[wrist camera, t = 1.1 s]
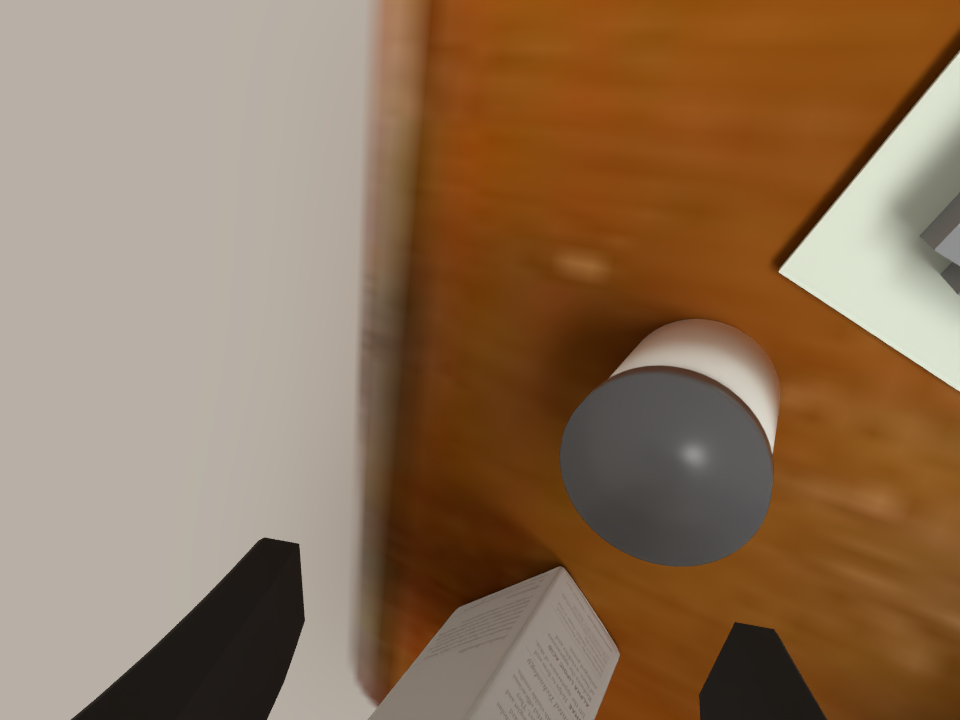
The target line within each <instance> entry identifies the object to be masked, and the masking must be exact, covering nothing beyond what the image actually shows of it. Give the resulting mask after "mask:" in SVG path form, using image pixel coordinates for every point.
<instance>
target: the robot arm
mask: <svg viewBox="0 0 960 720" xmlns="http://www.w3.org/2000/svg"><path fill="white" fill-rule="evenodd" d="M304 621H305V617H304V604H303V591H302V576H301V562H300V548H299V544H297V543H292V542H286V541H280V540H275V539H270V538H263V539H261V540H259V541H258V542H257V543H256V544H255V545H254V546H253V547H252V548H251V550H250V551H249V552H248V553H247V554H246V555H245V556H244V557H243V558H242V559H241V560H240V561H239V562H238V563H237V565H236V566H235V567H234V568H233V569H232V570H231V571H230V572H229V573H228V574H227V575H226V576H225V577H224V578H223V579H222V580H221V581H220V582H219V584H217V585H216V587H215V588H214V589H213V590H212V591H211V592H210V593H209V594H208V595H207V596H206V597H205V598H204V599H203V600H202V601H201V602H200V603H199V604H198V605H197V606H196V607H195V608H194V609H193V610H192V611H191V612H190V613H189V614H188V615H187V616H186V617H185V618H183V619H182V620H181V621H180V622H179V623H178V624H177V625H176V626H175V627H174V628H173V629H172V630H171V631H170V632H169V633H168V634H167V635H166V636H165V637H164V638H163V639H162V640H161V641H160V642H159V643H158V644H157V645H156V646H154V647H153V648H152V649H151V650H150V651H149V652H148V653H147V654H146V655H145V656H144V657H142V658H141V659H140V660H139V661H138V662H137V663H136V664H135V665H133V666H132V667H131V668H130V669H129V670H128V671H127V672H126V673H124V674H123V675H122V676H121V677H120V678H119V679H118V680H117V681H116V682H114V683H113V684H112V685H111V686H110V687H109V688H108V689H106V690H105V691H104V692H103V693H102V694H101V695H100V696H99V697H97V698H96V699H95V700H94V701H93V702H92V703H90V704H89V705H88V706H87V707H86V708H84V709H83V710H82V711H81V712H80V713H78V714H77V715H76V716H75V717H74V718H72V719H71V720H267V718H268V716H269V713H270V711H271V709H272V707H273V705H274V703H275V701H276V698H277V696H278V694H279V692H280V689H281V687H282V685H283V683H284V680H285V677H286V674H287V671H288V669H289V666H290V663H291V660H292V657H293V654H294V652H295V649H296V646H297V643H298V639H299V636H300V633H301V630H302V627H303V624H304ZM699 699H700V719H701V720H827V719H826V717H825V715H824V714H823V712H822V710H821V709H820V707H819V705H818V703H817V702H816V700H815V698H814V697H813V695H812V693H811V692H810V690H809V688H808V686H807V685H806V683H805V681H804V680H803V678H802V676H801V674H800V673H799V671H798V669H797V667H796V666H795V664H794V662H793V660H792V659H791V657H790V655H789V653H788V652H787V650H786V648H785V646H784V645H783V643H782V641H781V639H780V638H779V636H778V634H777V633H776V632H775V630H774V629H769V628H764V627H758V626H753V625H747V624H742V623H736V622H735V623H734V625H733V627H732V629H731V632H730V634H729V636H728V638H727V640H726V642H725V644H724V646H723V648H722V650H721V652H720V654H719V656H718V658H717V660H716V662H715V664H714V666H713V668H712V670H711V672H710V674H709V676H708V678H707V680H706V682H705V684H704V686H703V688H702V690H701V692H700V694H699Z"/></svg>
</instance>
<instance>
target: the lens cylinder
mask: <svg viewBox="0 0 960 720" xmlns="http://www.w3.org/2000/svg"><path fill="white" fill-rule="evenodd" d="M780 399H781V391H780V383H779V378H778V375H777V372H776V369H775V367H774V365H773V363H772V361H771V359H770V358H769V356H768V355H767V354H766V352H765V351H764V350H763V348H762V347H761V346H760V345H759V344H758V343H757V342H756V341H755V340H753V339H752V338H751V337H750V336H748V335H747V334H745V333H744V332H742V331H740V330H739V329H737V328H735V327H732V326H730V325H728V324H725V323H721V322H718V321H713V320H707V319H686V320H681V321H676V322H673V323H670V324H667V325H664V326H662V327H660V328H658V329H656V330H655V331H653V332H652V333H650V334H649V335H648V336H647V337H645V338H644V339H643V340H642V341H641V342H640V343H639V344H638V346H637V347H636V348H635V349H634V350H633V351H632V352H631V354H630V355H629V356H628V357H627V358H626V359H625V360H624V361H623V363H622V364H621V365H620V366H619V367H618V368H617V369H616V371H615V372H614V373H613V374H612V375H611V376H610V377H609V378H608V379H607V380H605V381H604V382H602V383H601V384H600V385H598V386H597V387H596V388H595V389H594V390H593V391H592V392H591V393H590V394H589V395H588V396H587V397H586V398H585V399H584V401H583V402H582V403H581V404H580V405H579V406H578V408H577V409H576V410H575V411H574V413H573V414H572V416H571V418H570V419H569V421H568V423H567V426H566V428H565V430H564V434H563V437H562V441H561V449H560V466H561V473H562V478H563V481H564V485H565V488H566V490H567V493H568V495H569V497H570V500H571V501H572V503H573V505H574V507H575V508H576V510H577V511H578V513H579V514H580V515H581V517H582V518H583V520H584V521H585V522H586V523H587V524H588V525H589V526H590V527H591V528H592V530H594V531H595V532H596V533H597V534H598V535H599V536H600V537H601V538H603V539H604V540H605V541H607V542H608V543H610V544H611V545H612V546H614V547H616V548H617V549H619V550H621V551H623V552H624V553H627V554H629V555H631V556H633V557H636V558H638V559H641V560H644V561H647V562H651V563H655V564H660V565H667V566H695V565H702V564H706V563H710V562H714V561H717V560H719V559H722V558H724V557H726V556H728V555H730V554H732V553H733V552H735V551H737V550H738V549H739V548H741V547H742V546H743V545H744V544H746V543H747V542H748V541H749V540H750V539H751V538H752V536H753V535H754V534H755V533H756V532H757V530H758V529H759V527H760V525H761V524H762V522H763V520H764V518H765V515H766V513H767V511H768V507H769V503H770V499H771V492H772V485H773V475H774V464H773V455H772V454H773V448H774V441H775V435H776V428H777V422H778V415H779V409H780Z"/></svg>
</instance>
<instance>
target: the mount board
mask: <svg viewBox="0 0 960 720" xmlns="http://www.w3.org/2000/svg"><path fill="white" fill-rule="evenodd" d="M778 272H779V273H781V274H782V275H784V276H785V277H787V278H788V279H790V280H791V281H793V282H794V283H796V284H797V285H799V286H800V287H802V288H803V289H805V290H806V291H808V292H809V293H811V294H813V295H814V296H816V297H817V298H819V299H820V300H822V301H823V302H825V303H826V304H828V305H829V306H831V307H832V308H834V309H835V310H837V311H838V312H840V313H841V314H843V315H844V316H846V317H847V318H849V319H850V320H852V321H853V322H855V323H856V324H858V325H859V326H861V327H863V328H864V329H866V330H867V331H869V332H870V333H872V334H873V335H875V336H876V337H878V338H879V339H881V340H882V341H884V342H885V343H887V344H888V345H890V346H891V347H893V348H894V349H896V350H897V351H899V352H900V353H902V354H903V355H905V356H906V357H908V358H910V359H911V360H913V361H914V362H916V363H917V364H919V365H920V366H922V367H923V368H925V369H926V370H928V371H929V372H931V373H932V374H934V375H935V376H937V377H938V378H940V379H941V380H943V381H944V382H946V383H947V384H949V385H950V386H952V387H953V388H955V389H956V390H958V391H960V50H959V51H958V53H957V54H956V55H955V56H954V57H953V59H952V60H951V61H950V62H949V64H948V65H947V66H946V67H945V68H944V70H943V71H942V72H941V73H940V74H939V76H938V77H937V78H936V79H935V80H934V82H933V83H932V84H931V85H930V87H929V88H928V89H927V90H926V91H925V93H924V94H923V95H922V96H921V97H920V99H919V100H918V101H917V102H916V104H915V105H914V106H913V107H912V108H911V110H910V111H909V112H908V113H907V114H906V116H905V117H904V118H903V119H902V120H901V122H900V123H899V124H898V125H897V127H896V128H895V129H894V130H893V131H892V133H891V134H890V135H889V136H888V137H887V139H886V140H885V141H884V142H883V143H882V145H881V146H880V147H879V148H878V150H877V151H876V152H875V153H874V154H873V156H872V157H871V158H870V159H869V160H868V162H867V163H866V164H865V165H864V167H863V168H862V169H861V170H860V171H859V173H858V174H857V175H856V176H855V177H854V179H853V180H852V181H851V182H850V183H849V185H848V186H847V187H846V188H845V190H844V191H843V192H842V193H841V194H840V196H839V197H838V198H837V199H836V200H835V202H834V203H833V204H832V205H831V206H830V208H829V209H828V210H827V211H826V213H825V214H824V215H823V216H822V217H821V219H820V220H819V221H818V222H817V223H816V225H815V226H814V227H813V228H812V229H811V231H810V232H809V233H808V234H807V236H806V237H805V238H804V239H803V240H802V242H801V243H800V244H799V245H798V246H797V248H796V249H795V250H794V251H793V253H792V254H791V255H790V256H789V257H788V259H787V260H786V261H785V262H784V263H783V265H782V266H781V267H780V268H779V271H778Z"/></svg>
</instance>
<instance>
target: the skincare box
mask: <svg viewBox="0 0 960 720" xmlns="http://www.w3.org/2000/svg"><path fill="white" fill-rule="evenodd" d="M619 657H620V653H619V652H618V648H617V646H616V645H615V643H614V641H613V640H612V639H611V637H610V635H609V633H608V632H607V630H606V628H605V627H604V625H603V624H602V622H601V620H600V619H599V618H598V616H597V614H596V613H595V611H594V610H593V608H592V607H591V605H590V604H589V602H588V601H587V599H586V598H585V596H584V595H583V593H582V592H581V590H580V589H579V588H578V586H577V585H576V583H575V582H574V580H573V579H572V578H571V576H570V575H569V574H568V572H567V571H566V570H565V569H564V568H563V567H561V566H560V567H556V568H554V569H552V570H549V571H547V572H545V573H542V574H540V575H537V576H535V577H532V578H530V579H527V580H525V581H522V582H520V583H517V584H515V585H513V586H510V587H508V588H505V589H503V590H500V591H498V592H495V593H493V594H490V595H488V596H486V597H483V598H481V599H478V600H476V601H473V602H471V603H468V604H466V605H463V606H461V607H459V608H457V609H456V610H455V611H454V613H453V614H452V615H451V616H450V617H449V619H448V620H447V621H446V623H445V624H444V625H443V626H442V627H441V629H440V630H439V631H438V632H437V634H436V635H435V636H434V637H433V638H432V640H431V641H430V642H429V644H428V645H427V646H426V647H425V649H424V650H423V651H422V652H421V654H420V655H419V656H418V657H417V659H416V660H415V661H414V662H413V664H412V665H411V666H410V668H409V669H408V670H407V671H406V672H405V674H404V675H403V676H402V677H401V679H400V680H399V681H398V682H397V684H396V685H395V686H394V687H393V689H392V690H391V691H390V692H389V694H388V695H387V696H386V698H385V699H384V700H383V701H382V703H381V704H380V705H379V706H378V708H377V709H376V710H375V712H374V713H373V714H372V715H371V717H370V718H369V719H368V720H594V719H595V716H596V714H597V712H598V709H599V707H600V704H601V702H602V699H603V697H604V694H605V692H606V689H607V687H608V684H609V681H610V679H611V676H612V674H613V671H614V669H615V666H616V664H617V662H618V659H619Z"/></svg>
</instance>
